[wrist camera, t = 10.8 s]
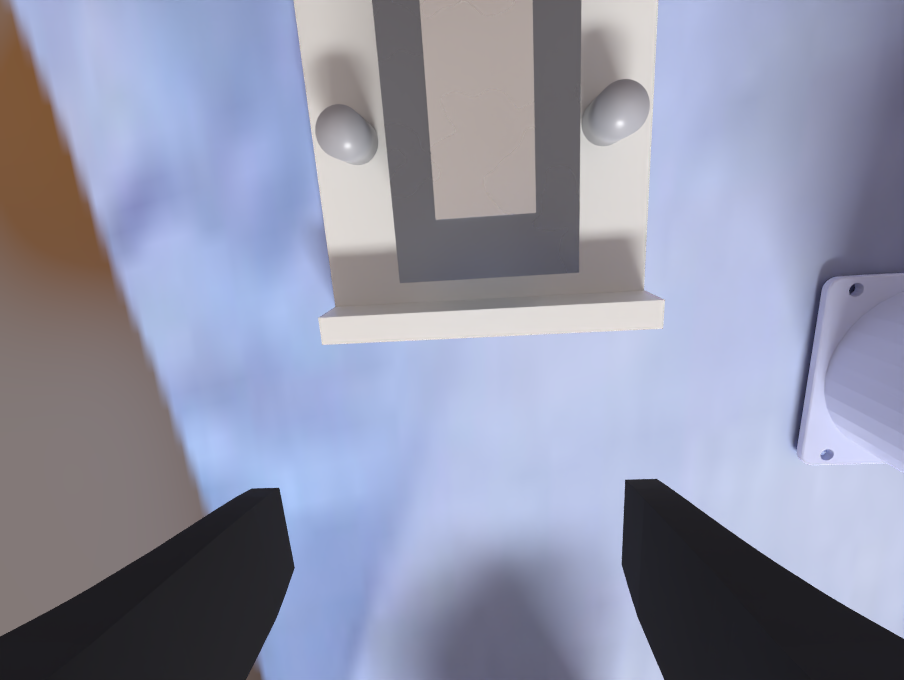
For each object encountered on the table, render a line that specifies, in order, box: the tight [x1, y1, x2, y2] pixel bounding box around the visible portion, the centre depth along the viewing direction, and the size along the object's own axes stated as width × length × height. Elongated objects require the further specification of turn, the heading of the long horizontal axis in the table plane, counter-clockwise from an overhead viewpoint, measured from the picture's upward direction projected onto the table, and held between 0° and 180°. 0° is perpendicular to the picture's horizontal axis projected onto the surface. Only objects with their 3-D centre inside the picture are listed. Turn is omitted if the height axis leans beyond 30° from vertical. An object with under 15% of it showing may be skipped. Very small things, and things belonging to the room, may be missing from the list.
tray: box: [294, 0, 665, 345], centre depth 15 cm, size 12×14×3 cm
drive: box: [372, 0, 581, 283], centre depth 13 cm, size 4×9×6 cm, turn 4°
